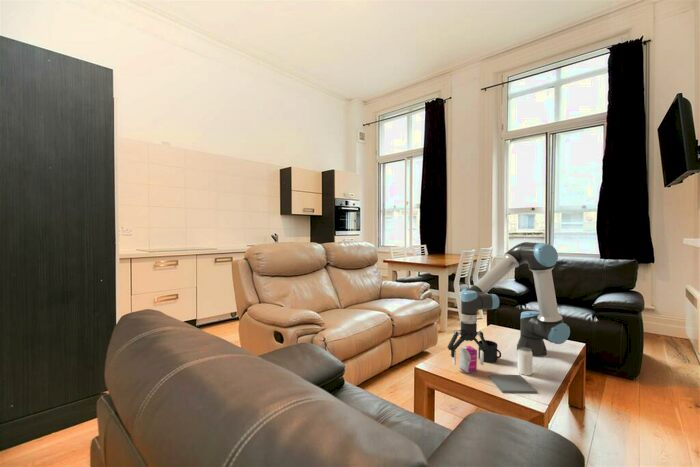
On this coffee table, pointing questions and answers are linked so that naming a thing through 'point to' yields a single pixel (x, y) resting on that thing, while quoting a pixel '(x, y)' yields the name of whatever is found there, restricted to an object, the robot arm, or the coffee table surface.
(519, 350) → the can
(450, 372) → the coffee table surface
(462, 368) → the supplement box
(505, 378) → the mat
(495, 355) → the mug
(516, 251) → the robot arm
